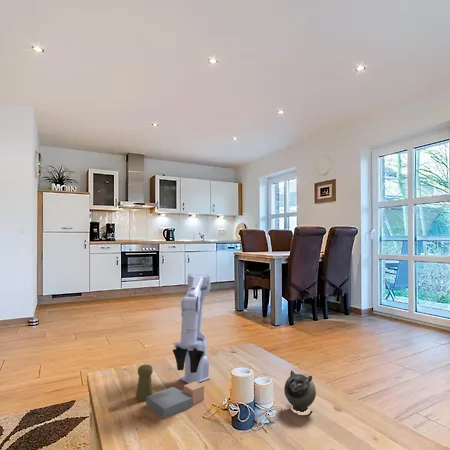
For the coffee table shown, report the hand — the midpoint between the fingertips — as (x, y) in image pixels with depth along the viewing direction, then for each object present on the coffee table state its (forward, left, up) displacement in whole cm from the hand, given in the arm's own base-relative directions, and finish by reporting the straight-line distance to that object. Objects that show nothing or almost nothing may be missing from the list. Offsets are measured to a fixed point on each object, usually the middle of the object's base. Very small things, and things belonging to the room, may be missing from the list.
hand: (186, 371), depth 113 cm
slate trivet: (+6, -1, -10) cm, 12 cm away
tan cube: (-3, +1, -10) cm, 11 cm away
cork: (+9, -12, -10) cm, 19 cm away
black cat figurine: (-25, +30, -10) cm, 40 cm away
